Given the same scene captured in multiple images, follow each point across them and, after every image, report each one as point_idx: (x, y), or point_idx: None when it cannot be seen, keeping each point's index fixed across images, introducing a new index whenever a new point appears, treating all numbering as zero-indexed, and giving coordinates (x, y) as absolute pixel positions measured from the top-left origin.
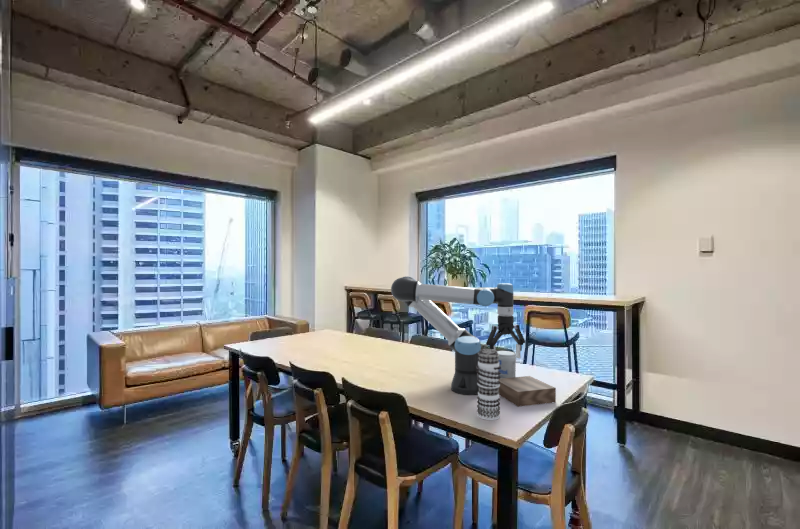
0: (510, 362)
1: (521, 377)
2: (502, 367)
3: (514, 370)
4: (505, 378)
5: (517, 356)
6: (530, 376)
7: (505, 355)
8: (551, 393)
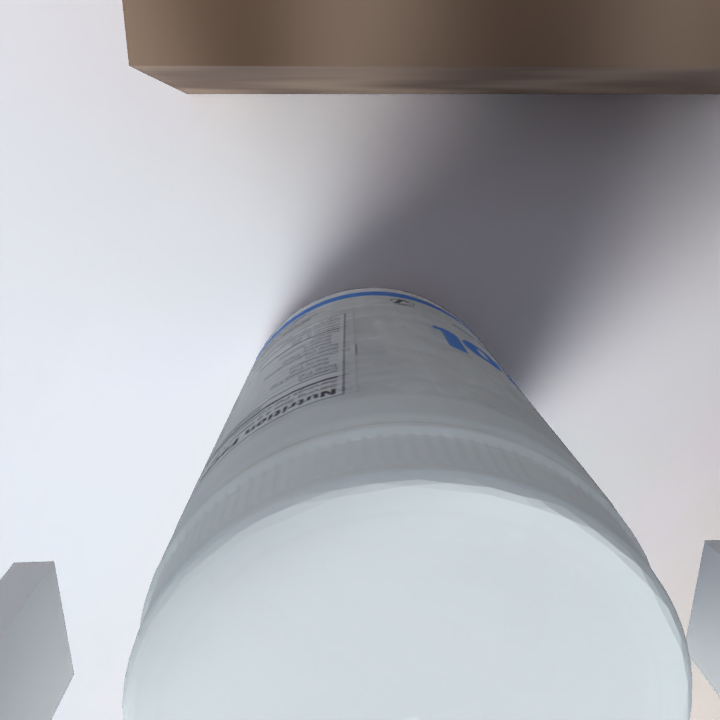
0: (409, 383)
1: (344, 12)
2: (533, 408)
3: (288, 356)
4: (669, 46)
5: (51, 646)
6: (132, 23)
7: (582, 508)
8: None
